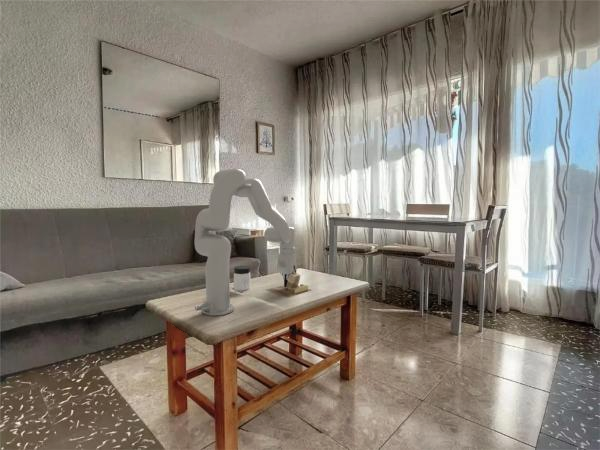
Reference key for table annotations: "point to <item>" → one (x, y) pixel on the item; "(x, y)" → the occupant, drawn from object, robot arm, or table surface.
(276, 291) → the board
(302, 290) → the clip
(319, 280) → the table surface
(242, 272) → the jar
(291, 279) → the tan block
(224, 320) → the table surface
